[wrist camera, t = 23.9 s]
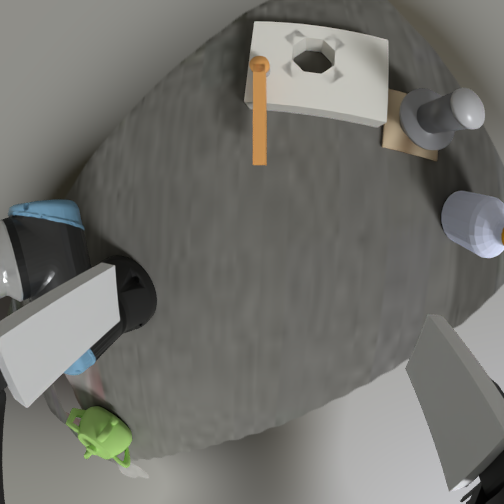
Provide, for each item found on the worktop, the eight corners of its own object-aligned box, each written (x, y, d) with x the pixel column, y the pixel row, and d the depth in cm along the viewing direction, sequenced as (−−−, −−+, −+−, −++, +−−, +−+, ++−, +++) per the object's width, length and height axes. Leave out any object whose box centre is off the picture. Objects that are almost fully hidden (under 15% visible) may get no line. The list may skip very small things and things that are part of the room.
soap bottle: (452, 180, 37) (554, 198, 14) (484, 206, 37) (580, 239, 14) (432, 227, 40) (525, 279, 17) (465, 250, 40) (553, 307, 17)
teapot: (123, 409, 66) (100, 442, 52) (145, 448, 71) (128, 479, 57) (79, 395, 69) (55, 422, 55) (102, 434, 74) (83, 460, 60)
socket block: (249, 109, 40) (242, 99, 34) (259, 34, 36) (252, 17, 30) (377, 127, 38) (389, 120, 32) (380, 51, 34) (390, 36, 28)
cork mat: (381, 146, 38) (382, 146, 38) (385, 88, 36) (386, 87, 35) (435, 161, 37) (437, 161, 37) (438, 105, 34) (440, 104, 34)
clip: (250, 59, 32) (249, 56, 31) (269, 58, 32) (268, 55, 30) (250, 165, 36) (248, 164, 35) (270, 165, 36) (269, 164, 35)
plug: (381, 135, 37) (428, 122, 21) (395, 87, 34) (443, 54, 18) (428, 160, 37) (489, 163, 21) (441, 113, 34) (502, 97, 18)
